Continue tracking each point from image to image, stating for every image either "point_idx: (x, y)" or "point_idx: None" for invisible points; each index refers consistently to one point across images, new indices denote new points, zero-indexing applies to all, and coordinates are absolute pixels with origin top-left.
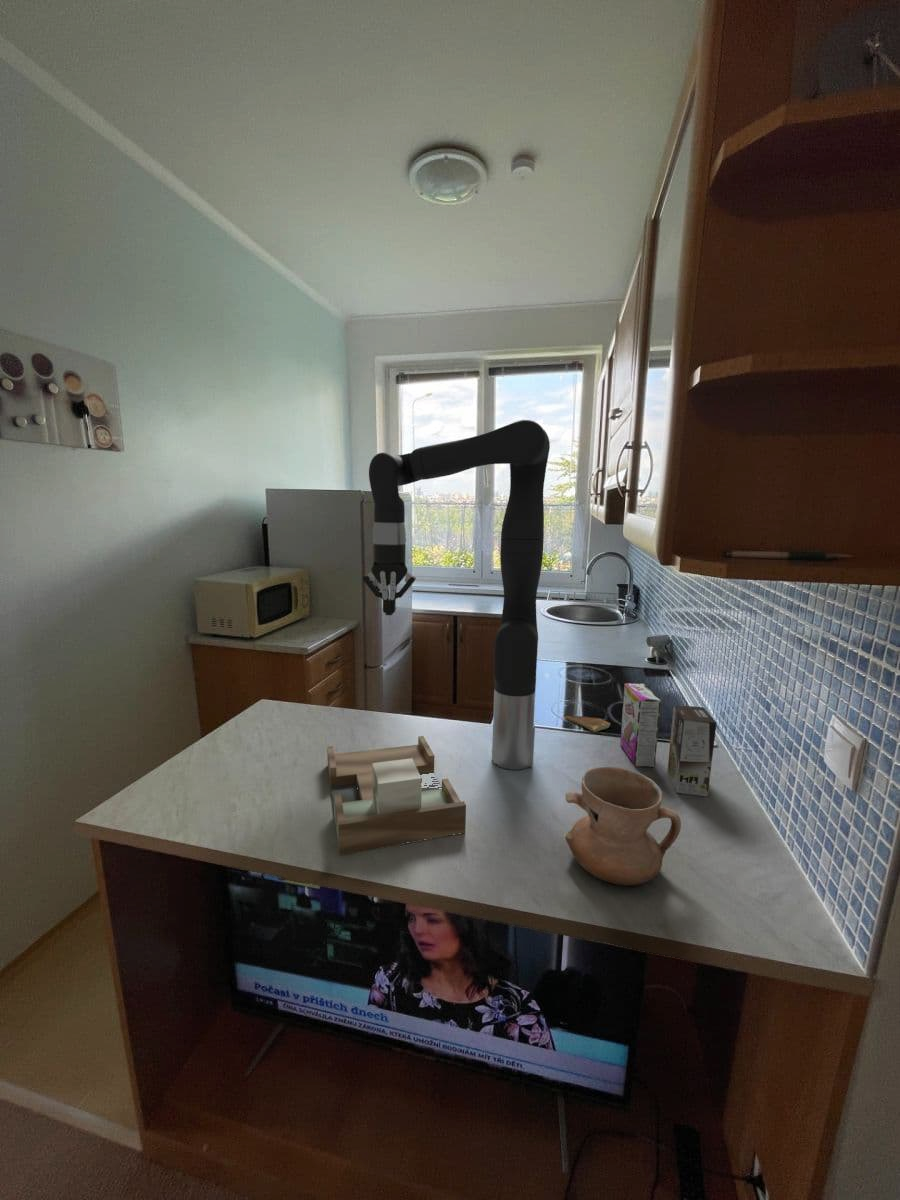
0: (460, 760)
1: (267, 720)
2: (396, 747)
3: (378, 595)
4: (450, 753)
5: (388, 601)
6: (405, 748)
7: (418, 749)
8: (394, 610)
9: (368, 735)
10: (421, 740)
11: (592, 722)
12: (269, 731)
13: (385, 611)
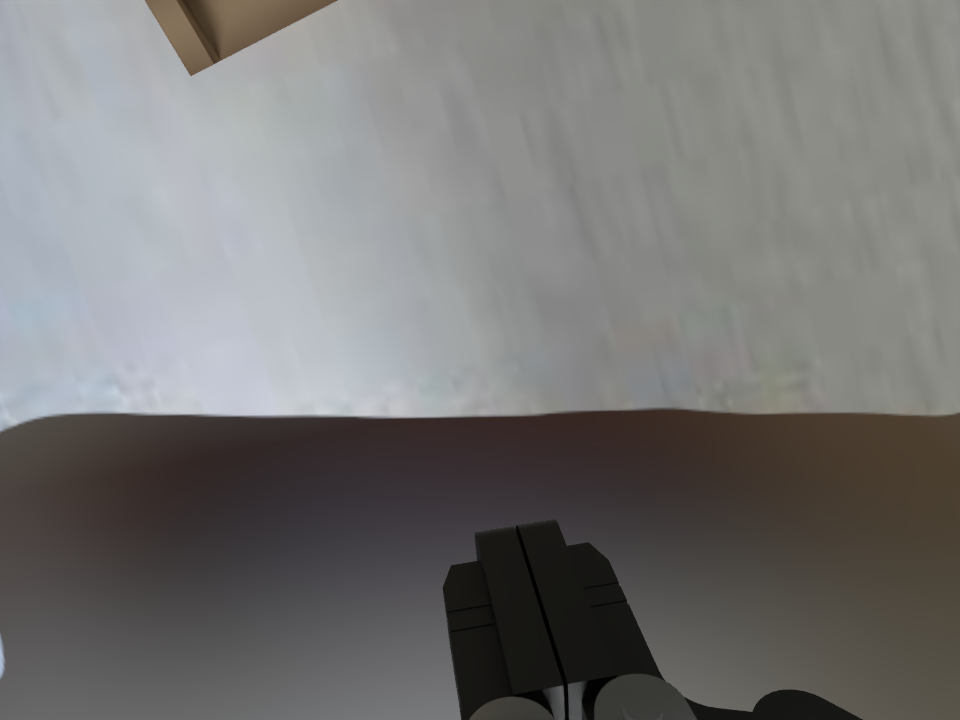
0: (6, 33)
1: (942, 249)
2: (315, 5)
3: (775, 716)
4: (80, 98)
5: (562, 673)
6: (268, 2)
7: (200, 2)
8: (446, 594)
9: (505, 202)
10: (181, 18)
11: None
12: (914, 152)
13: (569, 557)
